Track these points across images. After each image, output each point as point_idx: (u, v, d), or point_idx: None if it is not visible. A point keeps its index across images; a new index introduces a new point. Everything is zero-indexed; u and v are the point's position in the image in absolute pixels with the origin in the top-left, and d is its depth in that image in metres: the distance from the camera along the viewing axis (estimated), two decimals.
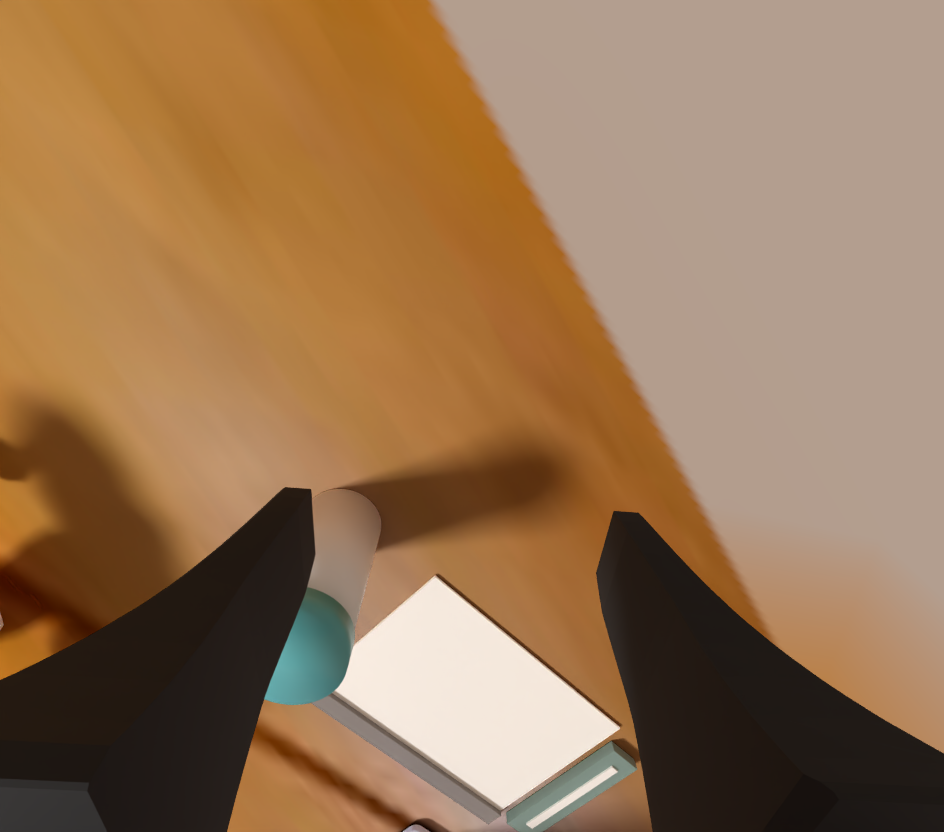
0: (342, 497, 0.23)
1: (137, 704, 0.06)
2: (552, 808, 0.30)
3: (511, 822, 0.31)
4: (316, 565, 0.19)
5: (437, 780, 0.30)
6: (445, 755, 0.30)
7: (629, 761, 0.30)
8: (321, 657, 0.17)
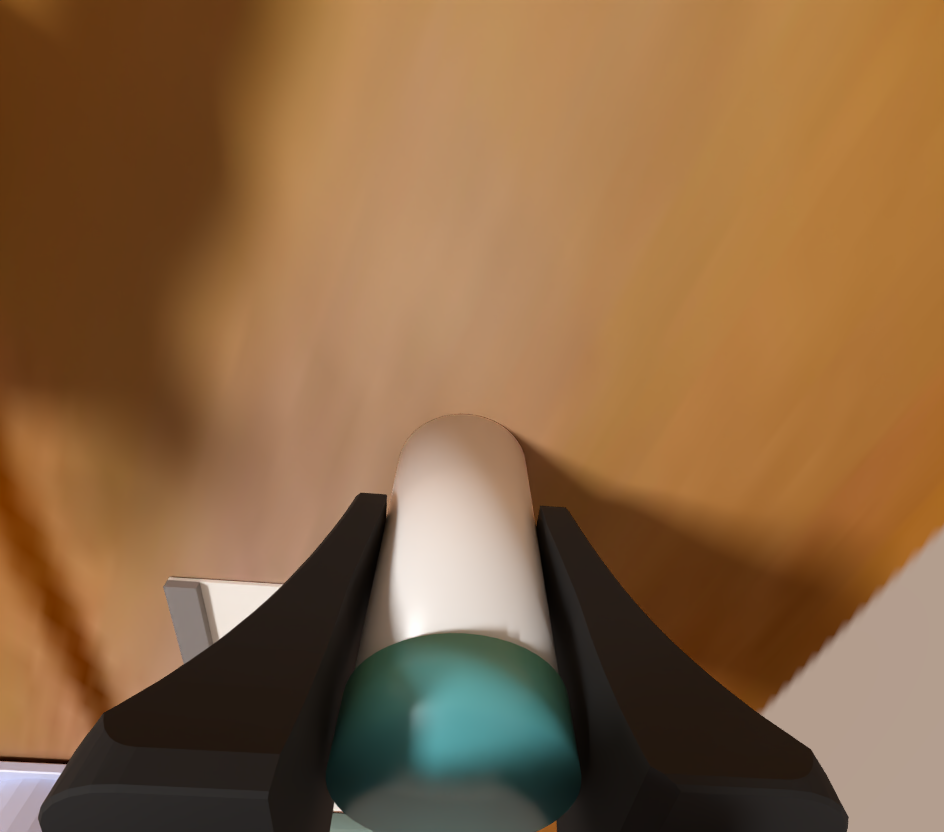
0: (520, 458, 0.14)
1: (288, 712, 0.06)
2: None
3: None
4: (545, 612, 0.10)
5: None
6: None
7: None
8: (502, 812, 0.08)
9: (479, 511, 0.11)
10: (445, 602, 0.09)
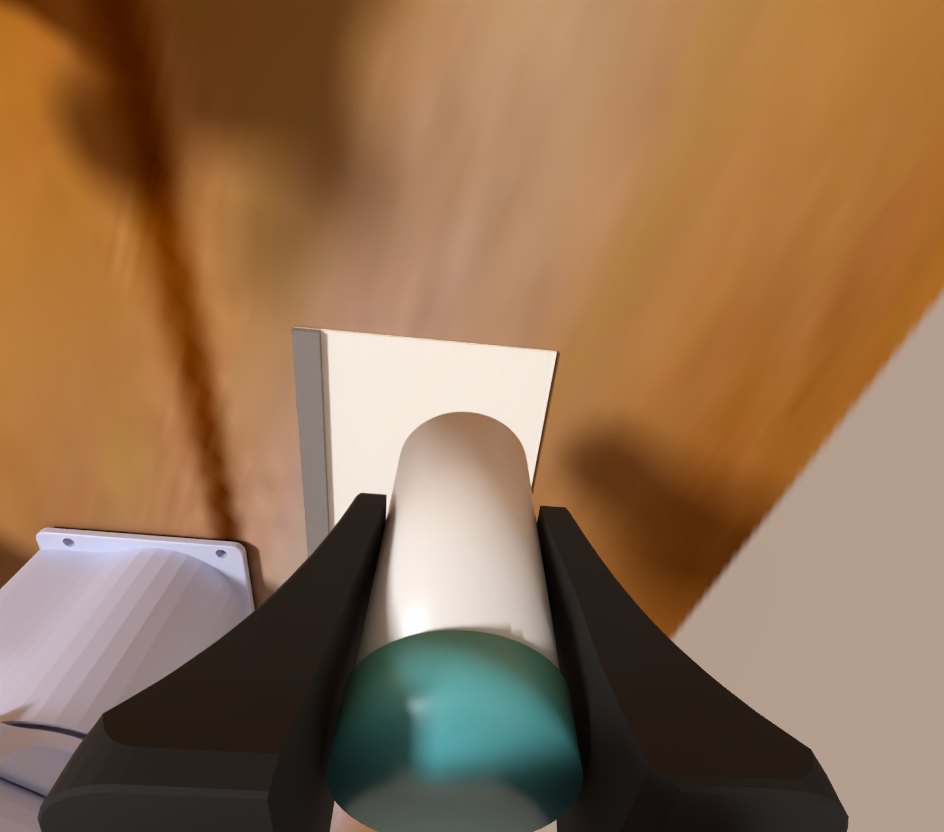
0: (522, 457, 0.14)
1: (287, 712, 0.06)
2: None
3: None
4: (547, 611, 0.10)
5: (316, 524, 0.25)
6: None
7: None
8: (502, 811, 0.08)
9: (483, 509, 0.11)
10: (449, 598, 0.09)
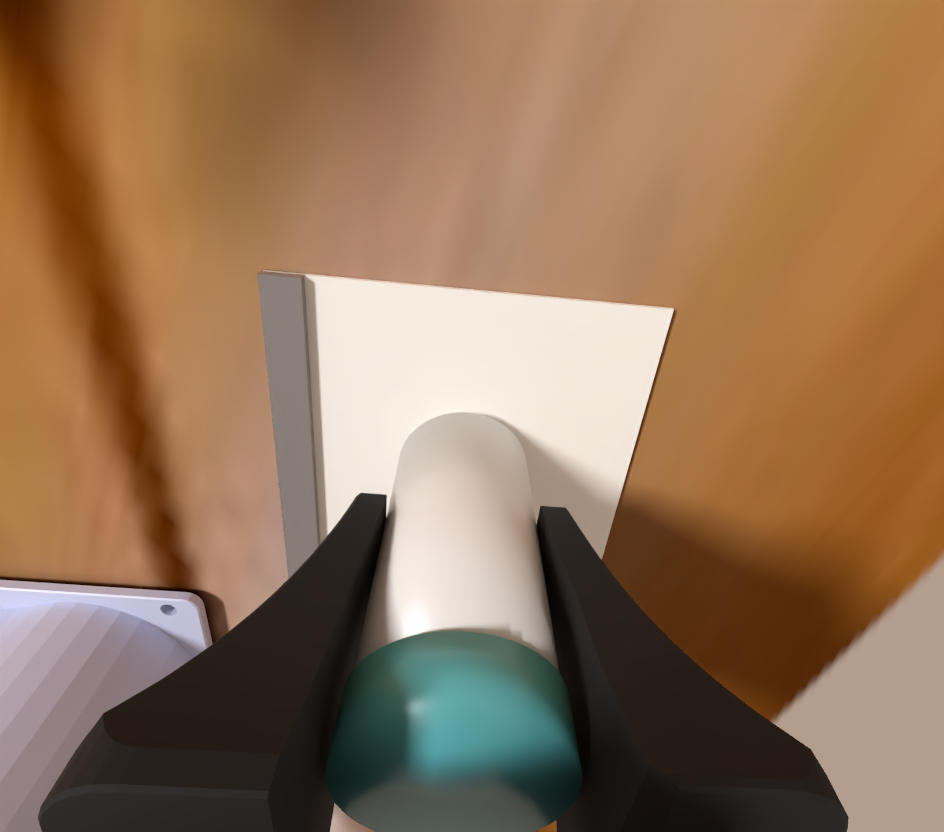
0: (522, 458, 0.14)
1: (287, 712, 0.06)
2: None
3: None
4: (546, 611, 0.10)
5: None
6: None
7: None
8: (501, 812, 0.08)
9: (482, 510, 0.11)
10: (448, 599, 0.09)
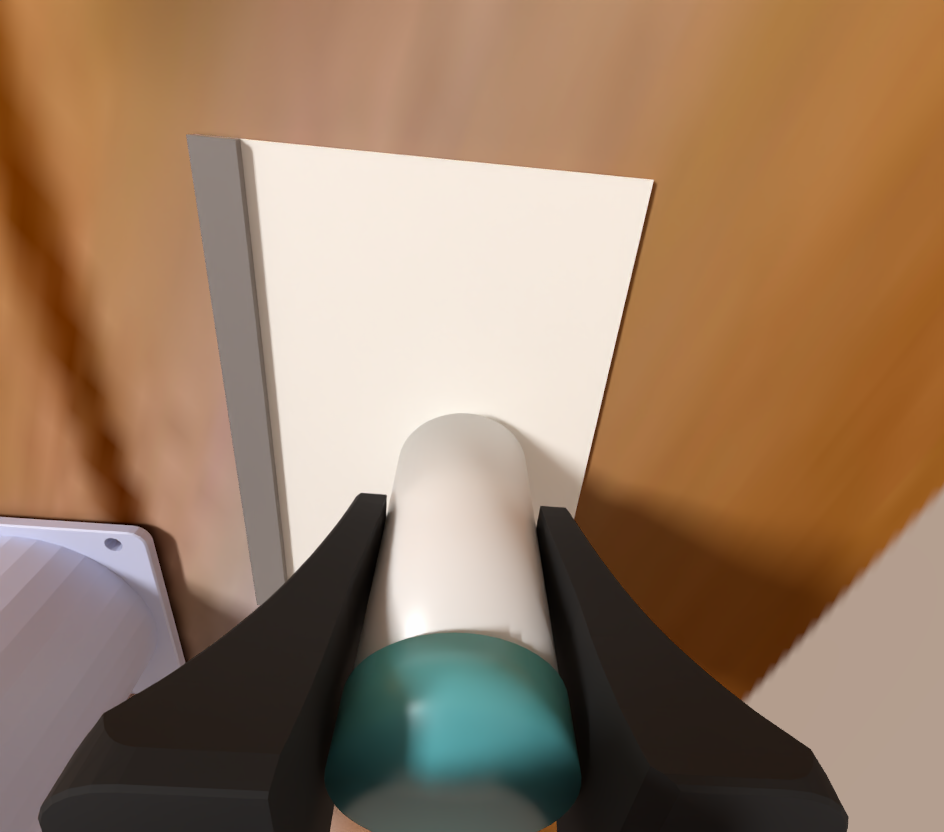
0: (521, 459, 0.14)
1: (287, 713, 0.06)
2: None
3: None
4: (545, 613, 0.10)
5: (257, 495, 0.16)
6: (305, 472, 0.16)
7: None
8: (500, 814, 0.08)
9: (482, 511, 0.11)
10: (447, 601, 0.09)
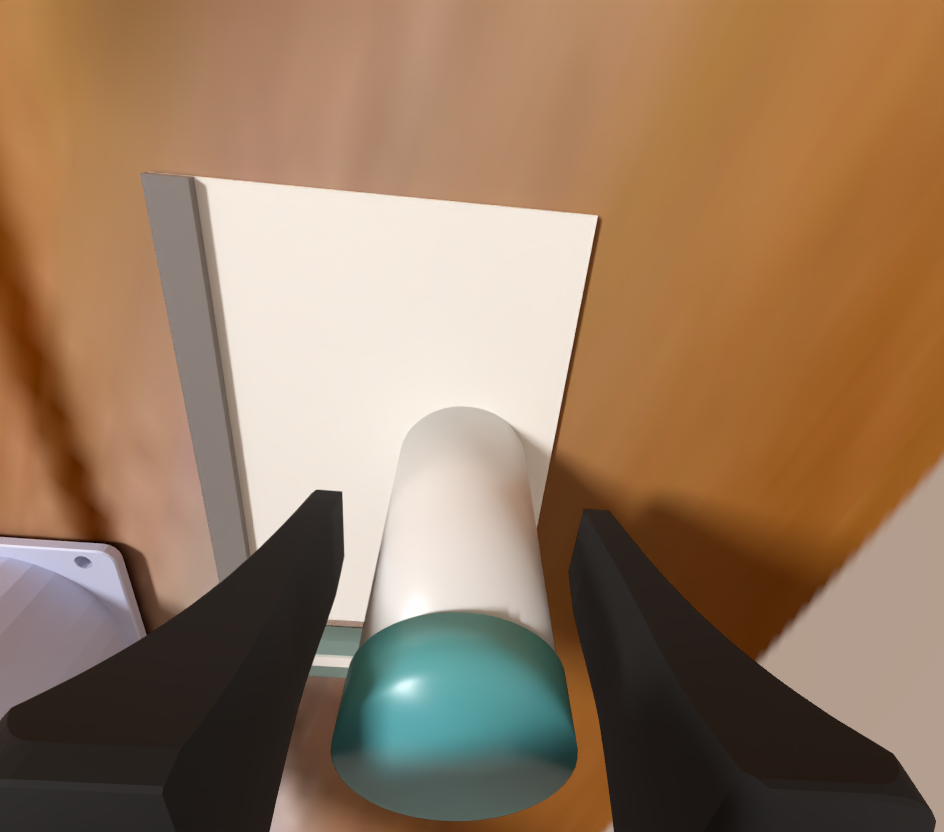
0: (520, 451, 0.14)
1: (199, 708, 0.06)
2: (336, 659, 0.19)
3: None
4: (543, 596, 0.10)
5: (223, 515, 0.16)
6: (270, 493, 0.16)
7: None
8: (499, 787, 0.09)
9: (481, 499, 0.11)
10: (448, 583, 0.09)
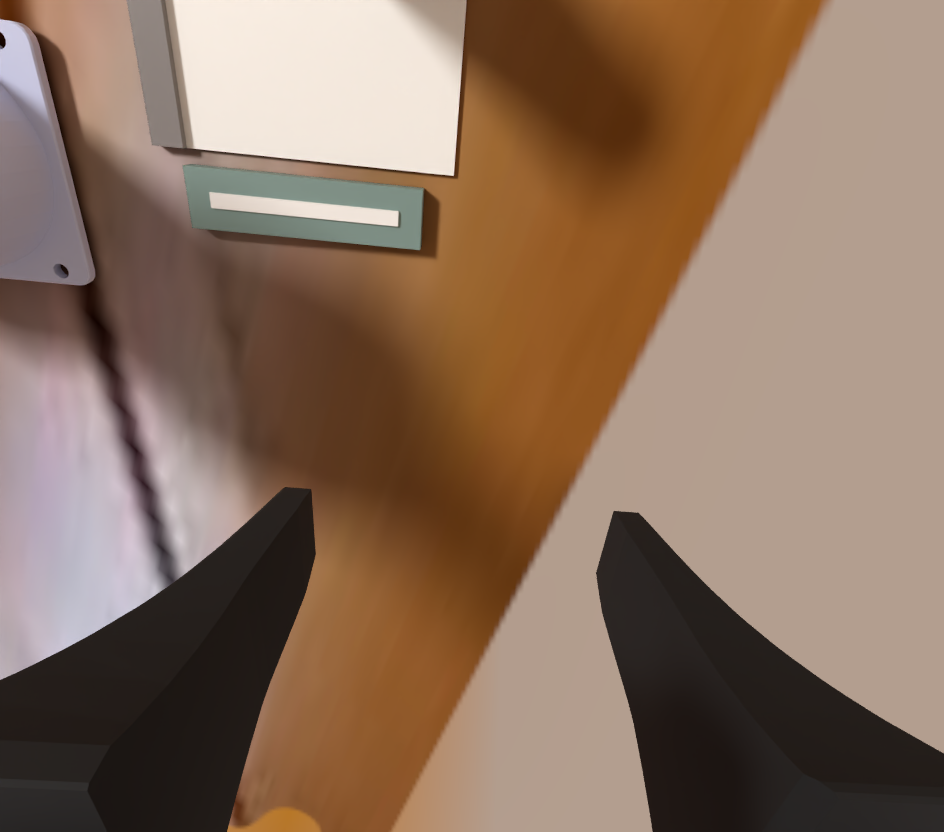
0: None
1: (137, 704, 0.06)
2: (267, 201, 0.18)
3: (189, 170, 0.18)
4: None
5: None
6: None
7: (421, 231, 0.19)
8: None
9: None
10: None
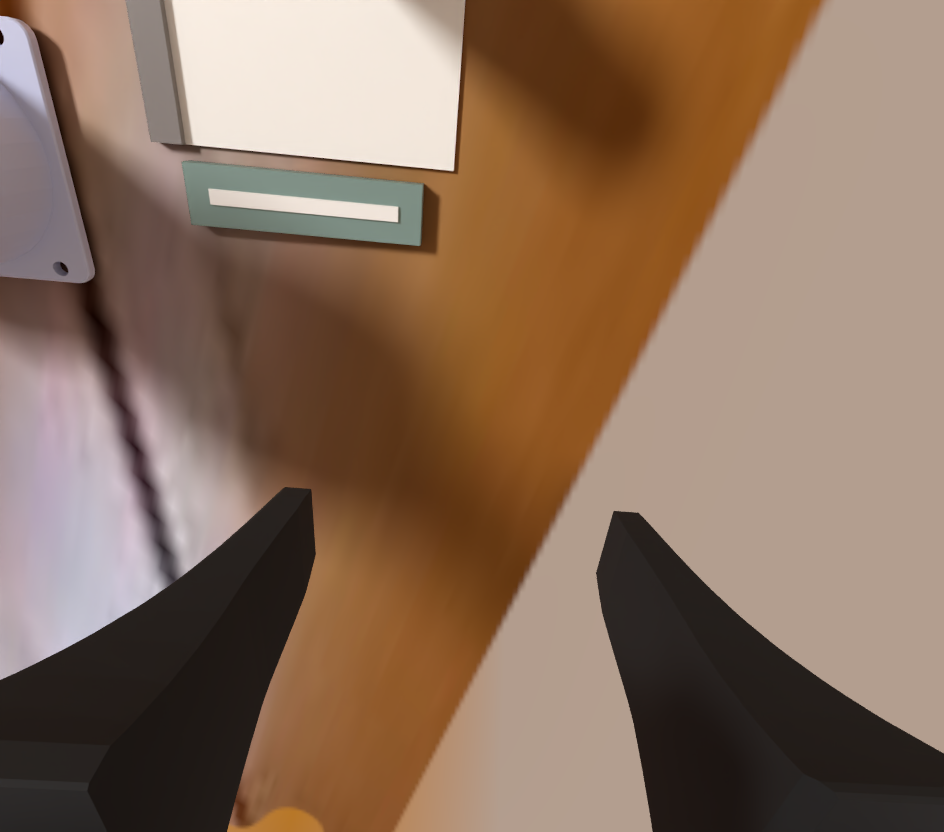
0: None
1: (137, 704, 0.06)
2: (266, 197, 0.18)
3: (188, 166, 0.18)
4: None
5: None
6: None
7: (420, 227, 0.19)
8: None
9: None
10: None
